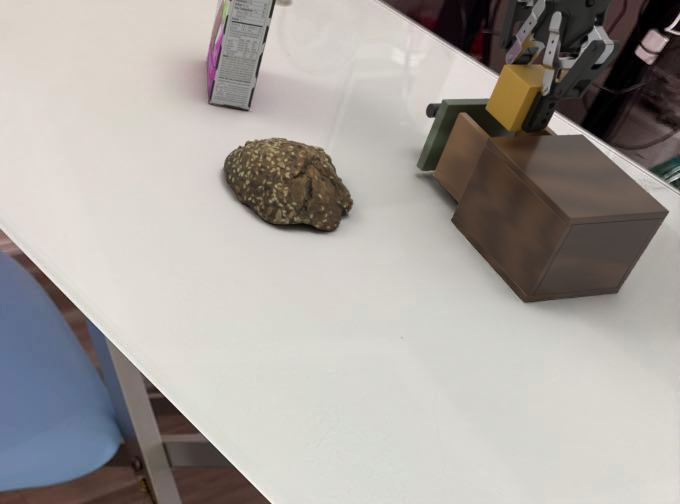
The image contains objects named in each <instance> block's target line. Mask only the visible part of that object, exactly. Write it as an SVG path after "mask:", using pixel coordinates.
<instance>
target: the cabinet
mask: <svg viewBox="0 0 680 504" xmlns="http://www.w3.org/2000/svg"><path fill="white" fill-rule="evenodd" d="M669 213H670V210H669V209H667V208H666V207H665V206H664V205H663V204H661V202H660V201H658V200H657V198H655V197H654V196H653V195H652V194H651V193H650V192H648V191H647V190H646V189H645V188H644V187H642V185H640V184H639V183H638V182H637V181H636V180H635V179H634V178H632V177H631V176H630V174H628V173H627V172H626V171H624V169H622V168H621V167H620V166H619V165H618V164H616V163H615V161H614V160H612V159H611V158H610V157H609V156H607V154H606V153H604V152H603V151H602V150H601V149H600V148H599V147H598V146H597V145H596V144H594V143H593V142H592V141H591V140H590V139H589V138H588V137H586V136H585V135H584V134H582V133H581V134H579V133H578V134H557V135H547V136H516V137H489V138H488V139H487V142H486V145H485V146H484V148H483V150H482V153H481V155H480V157H479V159H478V162H477V164H476V166H475V168H474V170H473V173H472V175H471V177H470V179H469V181H468V184H467V186H466V188H465V190H464V192H463V195H462V197H461V199H460V201H459V203H458V204H457V206H456V208H455V210H454V213H453V215H452V217H451V219H450V221H451V223H452V224H454V226H455V227H456V228H457V229H458V231H460V232H461V233H462V235H463V236H464V237H465V238H466V239H467V240H468V242H469V243H471V245H472V246H473V248H475V250H476V251H478V252H479V253H480V255H481V256H482V257H483V258H484V259H485V260H486V261H487V263H489V265H490V266H491V267H492V268H493V269H494V271H496V273H498V275H499V276H500V277H501V278H502V279H503V281H504V282H505V283H506V284H507V285H508V286H509V287H510V288H511V290H513V292H514V293H515V294H516V295H517V296H518V298H520V299H521V300H522V302H523V303H530V302H539V301H540V302H541V301H549V300H559V299H569V298H570V299H571V298H579V297H589V296H599V295H609V294H617V293H619V292H620V290H621V289H622V287H623V285H624V284H625V283H626V281H627V279H628V278H629V276H630V275H631V272H632V271H633V270H634V268H635V267H636V265H637V263H638V262H639V260H640V259H641V257H642V256H643V254H644V253H645V251H646V250H647V248H648V246H649V245H650V244H651V242H652V240H653V238H654V237H655V236H656V234H657V232H658V231H659V229H660V228H661V226H662V225H663V223H664V221H665V220H666V218H667V217H668V215H669Z"/></svg>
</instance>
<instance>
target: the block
mask: <svg viewBox="0 0 680 504" xmlns="http://www.w3.org/2000/svg"><path fill="white" fill-rule="evenodd" d="M544 72H545V67H544V66H543V64H530V65H506V64H504V65H503V67H502V69H501V72H500V74H499V77H498V78H497V81H496V83H495V86H494V88H493V90H492V92H491V94H490V96H489V98H490V99H489V101H488V104H487V106H486V108H485V109H486V110H487V111H488V112H489V113H490V114H491V115H492V116H493V117H494V118H495V119H496V120H498V121H499V122H500V123H501V124H502V125H503V126H504V127H505V128H506V129H507V130H508V131H509V132H515V131H524V130H523V129H522V128H521V126H522V123H523V121H524V119H525V117H526V115H527V113H528V111H529V109H530V107H531V104H532V102H533V100H534V98H535V96H536V94H537V92H540V88H541V84H542V80H543V76H544ZM556 81H559V78H557V77H556ZM560 101H561V100H560ZM560 101H559V103H558V105H559V104H560ZM558 105H557V107H556V109H557V108H558ZM553 115H554V114H553ZM553 115H552V117H553ZM551 120H552V118H551V119H550V121H551ZM546 128H547V127H546ZM546 128H545V129H543V130H542V131H545V130H546Z"/></svg>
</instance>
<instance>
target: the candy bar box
mask: <svg viewBox="0 0 680 504" xmlns="http://www.w3.org/2000/svg"><path fill="white" fill-rule="evenodd" d="M276 2H277V0H217V5H216V9H215V15H214V19H213V26H212V30H211V36H210V41H209V44H208V45H209V46H208V51H207V55H206V70H207V92H208V104H211V105H214V106H218V107H225V108H231V109H239V110H245V111H250V110H251V107H252V102H253V97H254V94H255V90H256V85H257V81H258V77H259V73H260V68H261V64H262V61H263V56H264V52H265V48H266V44H267V39H268V35H269V31H270V27H271V23H272V19H273V15H274V11H275V10H274V9H275V6H276Z"/></svg>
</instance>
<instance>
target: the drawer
mask: <svg viewBox="0 0 680 504" xmlns="http://www.w3.org/2000/svg"><path fill="white" fill-rule="evenodd" d="M489 99H490V97H489V98H488V97H487V98H443V99H441V102H437V103H436V102H435V103H434V102H431V103H428V105H427V106H426V108H425V116H426V117H427V118H428V119H434V120H433V122H432V124H431V126H430V129H429V132H428V134H427V137H426V139H425V141H424V145H423V147H422V149H421V151H420V155H419V157H418V159H417V162H416V164H415V165H416V167H417V168H418V169H419V170H420V171H421V172H433V173H432V176H433V177H434V178H435V179H436V180H437V182H439V183H440V184H441V186H442V187H443V188H444V189H445V190H446V191H447V192H448V193H449V194H450V195H451V197H452V198H453V199H454V200H455V201H456V202H457V203H458V204H459V201H460V199H461V197H462V195H463V192H464V190H465V188H466V186H467V184H468V181H469V179H470V177H471V175H472V173H473V170H474V168H475V166H476V164H477V162H478V159H479V157H480V155H481V153H482V150H483V148H484V146H485V145H486V142H487V139H488V138H489V137H516V136H547V135H558V134H557V132H555V131H554V130H553V129H552V128H551V127H550V126H549V125H548V126H547V128H546V130H545V131H540V132H538V133H526V132H525V131H515V132H509V131H508V130H507V129H506V128H505V127H504V126H503V125H502V124H501V123H500V122H499V121H498V120H496V119H495V118H494V117H493V116H492V115H491V114H490V113H489V112H488V111H487V110H486V109H485V108H486V106H487V104H488V101H489Z"/></svg>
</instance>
